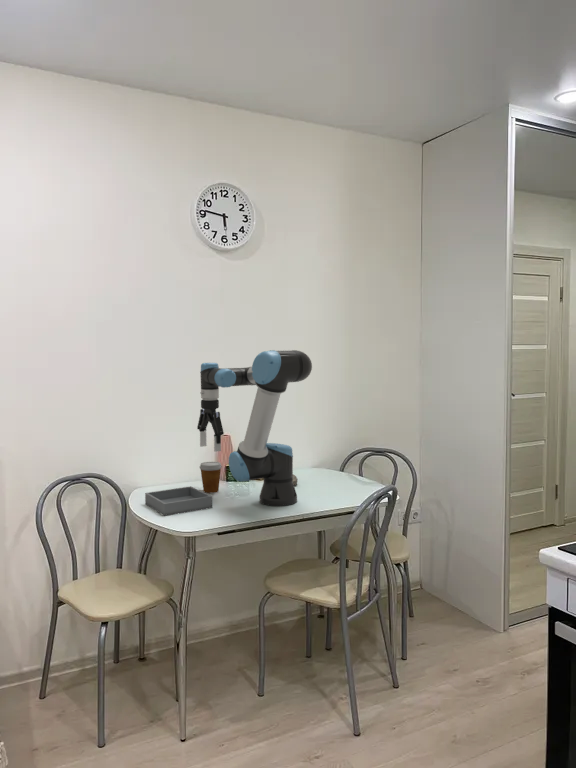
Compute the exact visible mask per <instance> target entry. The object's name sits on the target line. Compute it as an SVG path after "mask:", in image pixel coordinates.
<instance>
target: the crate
mask: <svg viewBox="0 0 576 768" xmlns="http://www.w3.org/2000/svg"><path fill="white" fill-rule="evenodd" d="M144 495H145V497H144V498H145V499H144V500H145V505H146V506H147V507H149V508H151V509H153V510H154V511H156V512H158V513H159V514H161V515H162V516H164V517H166V516H167V517H168V516H171V515H172V516H173V515H178V513H179V514H183V513H184V512H185V513H190V512H196V511H201V509H202V510H207V509H206V508H208V509H213V495H210V494H209V493H205V492H204V491H202V490H200V489H198V488H196V487H193V486H184V487H177V488H170V489H163V490H156V491H149V492H145V493H144Z"/></svg>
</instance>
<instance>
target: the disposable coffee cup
mask: <svg viewBox="0 0 576 768" xmlns="http://www.w3.org/2000/svg"><path fill="white" fill-rule="evenodd" d="M222 467H223V466H222V464H221V462H219V461H204V462H200V464H199V469H200V474H201V481H202V488H203V492H204V493H205V492H206V494H215V493H218V492H219V487H220V479H221V470H222Z"/></svg>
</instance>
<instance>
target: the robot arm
mask: <svg viewBox="0 0 576 768" xmlns="http://www.w3.org/2000/svg"><path fill="white" fill-rule="evenodd" d="M219 366H220V365H219V364H218V363H217V362H203V363H201V364H200V371H199V372H200V398H201V399H200V408H201V409H200V411H199V412H200V413H199V417H198V423H197V427H196V428H197V429H196V430H198V431H199V447H207V427H208V425H209V423H210V424H211V427H212V430H213V432H214V435H213V449H214V450H213V451H214V452H221V451H222V446H221V445H222V442H221V441H222V439H221V436H222V435H224V434H225V433H224V427H223V424H222V420H221V412H220V411H217V409H219V407H220V402H219V401H220V400H219V397H220V396H219V395H220V394H219V393H220V387H221V388H230V387H239V386H240V387H241V386H256V387H257V391H256V393H255V398H254V401H253V405H252V407H251V408H252V409H251V412H250V416H249V421H248V425H247V428H246V432H245V434H244V435H245V436H244V439H243V441H242V440H241V441H240V442H239V444H238V447H237V450H236V451H233V452H231V453H230V454H229V456H228V467H229V471H230V473H231V475H232V477H233V478H234V480H236V481H237V482H249V481H254V480H260V479H263V484H262V487H261V489H260V493H259V503H260V504H262V505H267V506H271V507H274V506H275V507H280V506H281V507H282V506H283V505H284V506H289V504H291V505H294V504H296V503H297V502H298V495H297V491H296V488H295V485H293V475H294V474H293V473H294V472H293V471H294V470H293V469H294V468H293V467H294V465H293V463H294V462H293V460H294V454H293V448H292V446H291V445H287V444H282V443H274V442H268V440H269V436H270V432H271V431H272V430H271V429H272V425H273V422H274V418H275V415H276V411H277V408H278V404H279V401H280V398H281V395H282V394H283V393H285V392H286V391H287V388H288V385H289V383H298V382H302V381H304V380H306V379H307V378H308V377H309V376H310V375H311V373H312V370H313V364H312V360H311V358H310V357H309V355H307V354H306V353H305V352H304V351H300V350H295V349H294V350H293V349H292V350H275V349H272V350H267V351H266V350H265V351H261V352H260V353H259V352H258V354H257V355H256V356H255V358H254V359H253V362H252V366H249V367H228V368H227V367H225V368H219Z"/></svg>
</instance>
